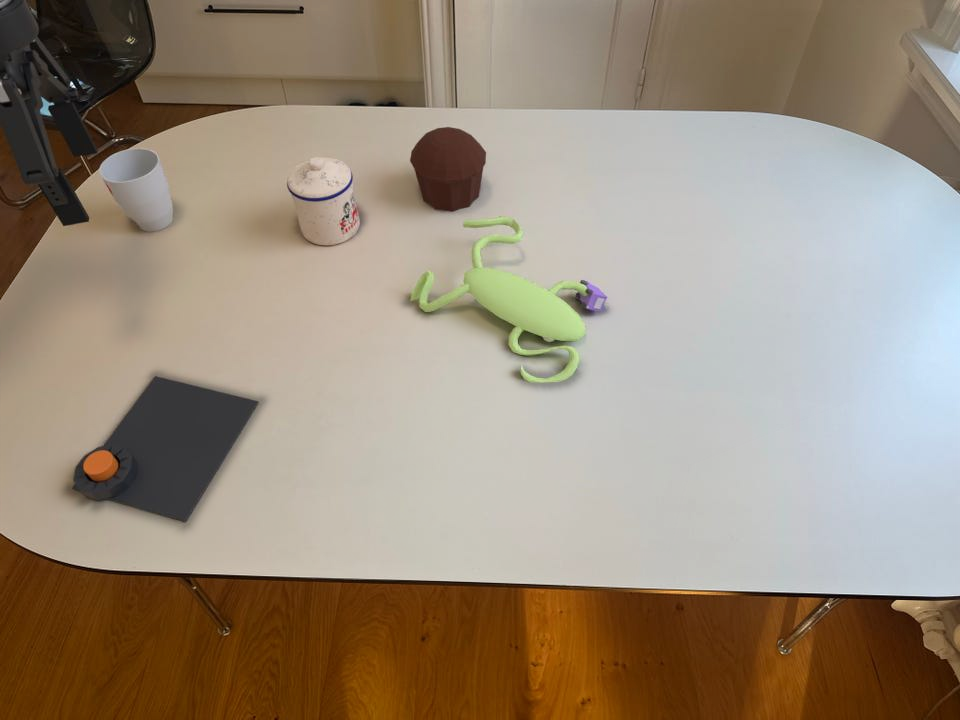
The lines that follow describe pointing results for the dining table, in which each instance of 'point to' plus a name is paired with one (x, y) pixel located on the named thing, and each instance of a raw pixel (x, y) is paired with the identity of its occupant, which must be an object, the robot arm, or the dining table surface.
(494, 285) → the figurine
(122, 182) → the cup
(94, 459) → the button
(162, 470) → the dark grey flat slab
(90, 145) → the robot arm
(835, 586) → the dining table surface
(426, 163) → the muffin
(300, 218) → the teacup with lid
